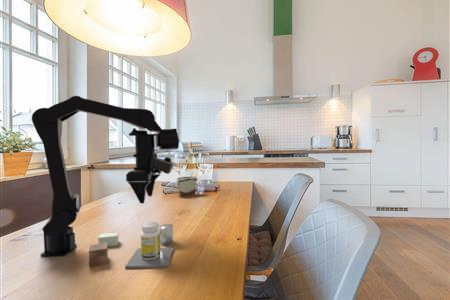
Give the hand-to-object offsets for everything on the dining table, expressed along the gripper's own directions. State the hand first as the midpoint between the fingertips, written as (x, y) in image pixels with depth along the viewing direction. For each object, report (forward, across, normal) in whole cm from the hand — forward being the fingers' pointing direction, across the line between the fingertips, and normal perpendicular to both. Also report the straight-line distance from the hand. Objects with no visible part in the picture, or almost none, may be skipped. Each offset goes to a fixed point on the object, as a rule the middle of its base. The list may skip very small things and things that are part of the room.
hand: (146, 199), depth 81 cm
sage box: (+12, -5, +10) cm, 17 cm away
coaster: (+12, -15, -5) cm, 20 cm away
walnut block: (+12, -16, +8) cm, 22 cm away
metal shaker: (+12, -5, -7) cm, 15 cm away
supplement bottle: (+12, -15, -5) cm, 20 cm away
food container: (+12, +59, -5) cm, 60 cm away
